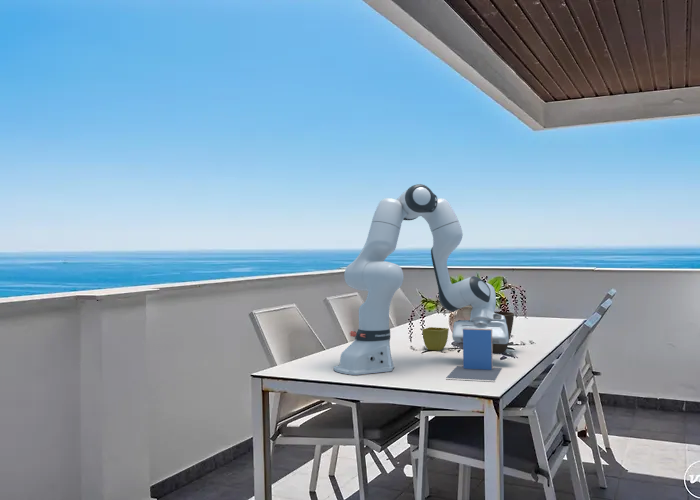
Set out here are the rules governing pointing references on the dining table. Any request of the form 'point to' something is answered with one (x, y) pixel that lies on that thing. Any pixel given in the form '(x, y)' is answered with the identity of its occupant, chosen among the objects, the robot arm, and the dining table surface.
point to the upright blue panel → (477, 349)
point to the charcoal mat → (474, 374)
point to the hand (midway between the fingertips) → (478, 351)
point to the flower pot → (435, 338)
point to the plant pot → (509, 321)
